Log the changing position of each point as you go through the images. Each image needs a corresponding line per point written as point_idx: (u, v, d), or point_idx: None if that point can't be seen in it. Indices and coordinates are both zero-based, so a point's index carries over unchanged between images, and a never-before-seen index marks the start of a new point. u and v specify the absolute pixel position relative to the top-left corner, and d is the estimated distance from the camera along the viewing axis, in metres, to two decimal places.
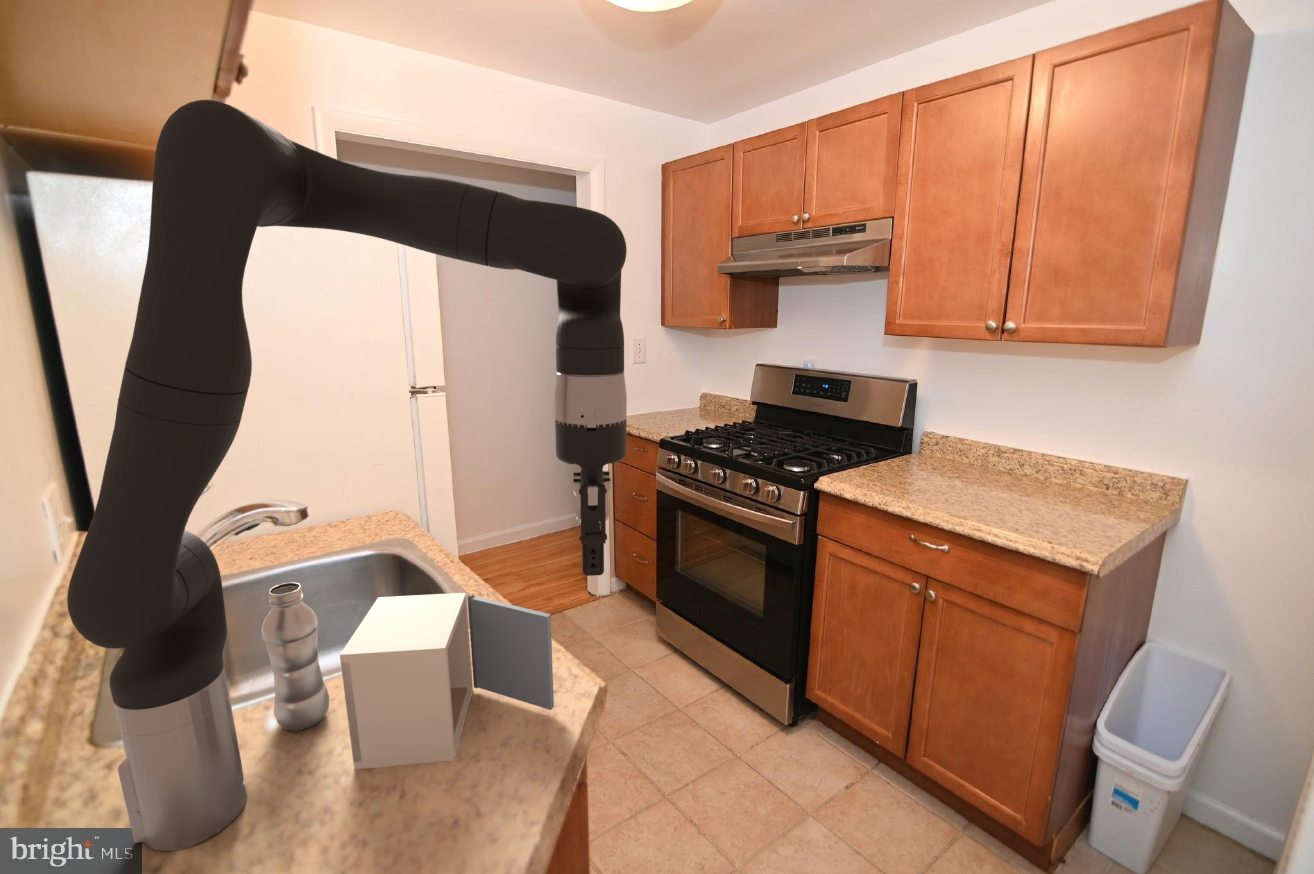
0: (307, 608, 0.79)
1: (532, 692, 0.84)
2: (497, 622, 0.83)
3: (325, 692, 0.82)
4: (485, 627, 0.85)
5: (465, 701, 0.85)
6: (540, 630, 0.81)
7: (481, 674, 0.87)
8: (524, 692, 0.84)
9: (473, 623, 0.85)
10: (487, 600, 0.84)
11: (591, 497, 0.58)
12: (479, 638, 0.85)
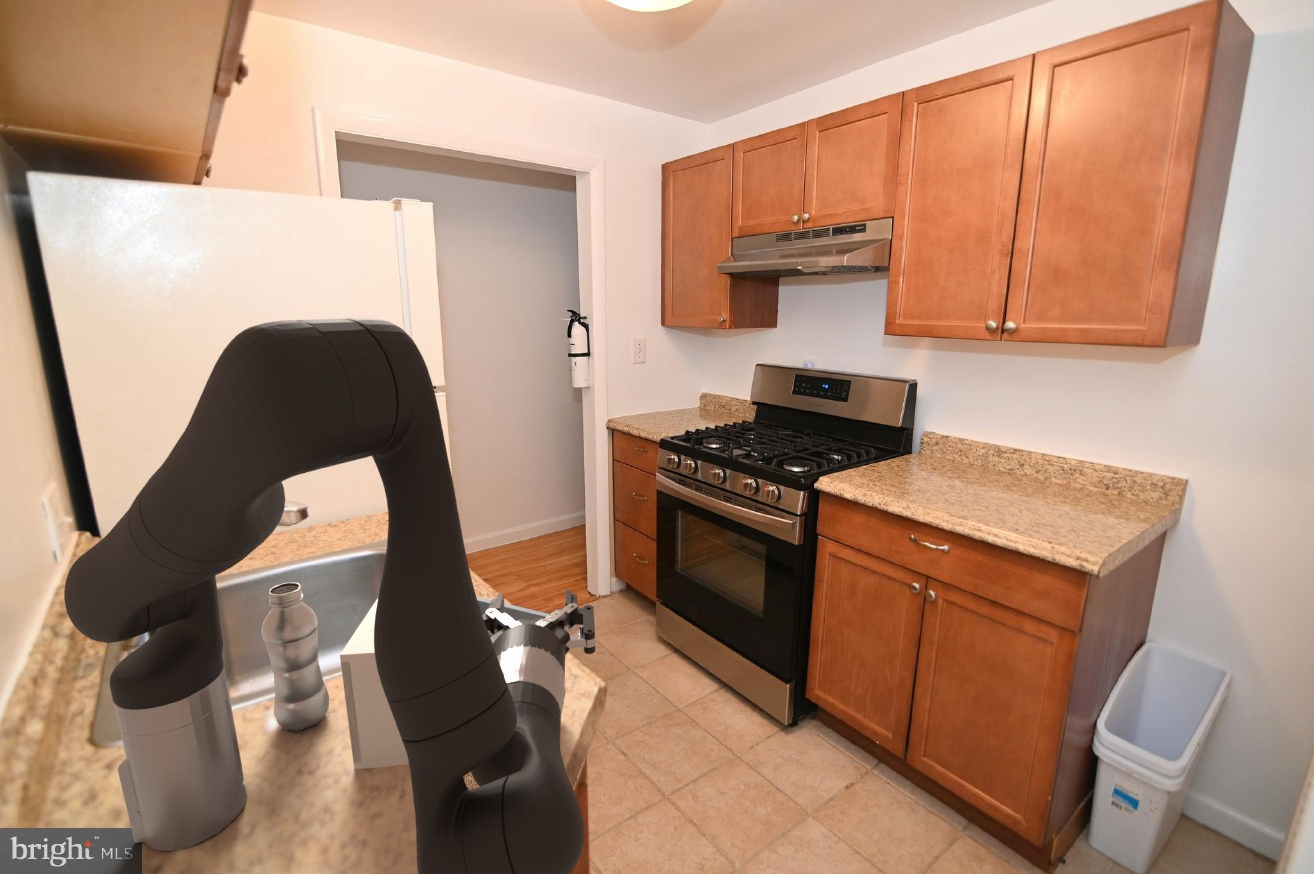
0: (307, 608, 0.79)
1: None
2: None
3: (325, 692, 0.82)
4: None
5: None
6: None
7: None
8: None
9: None
10: (487, 600, 0.84)
11: None
12: None
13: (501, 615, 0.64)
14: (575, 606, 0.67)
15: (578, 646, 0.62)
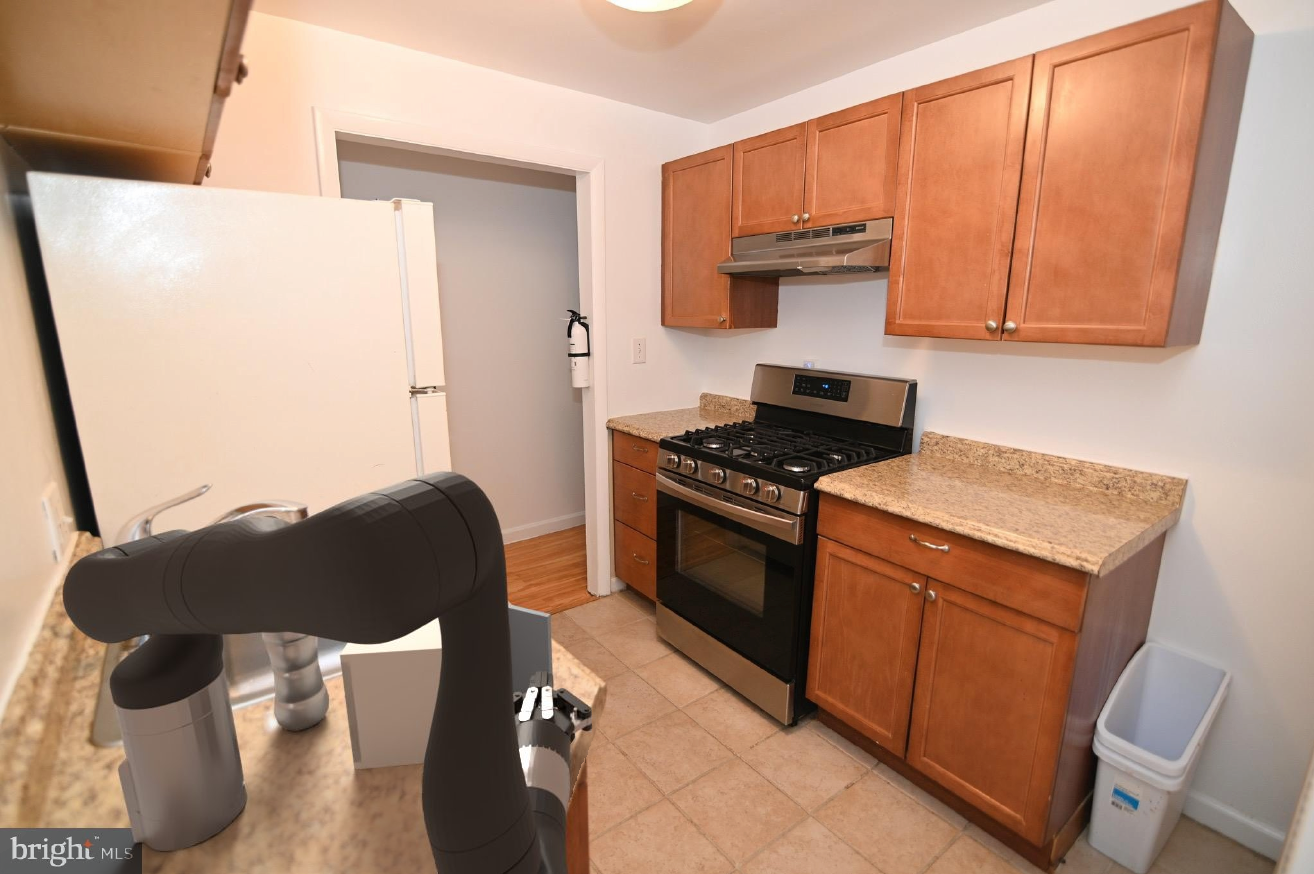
0: None
1: None
2: None
3: (325, 692, 0.82)
4: None
5: None
6: (540, 630, 0.81)
7: None
8: (524, 692, 0.84)
9: None
10: None
11: None
12: None
13: (529, 699, 0.69)
14: (549, 689, 0.72)
15: (581, 727, 0.68)
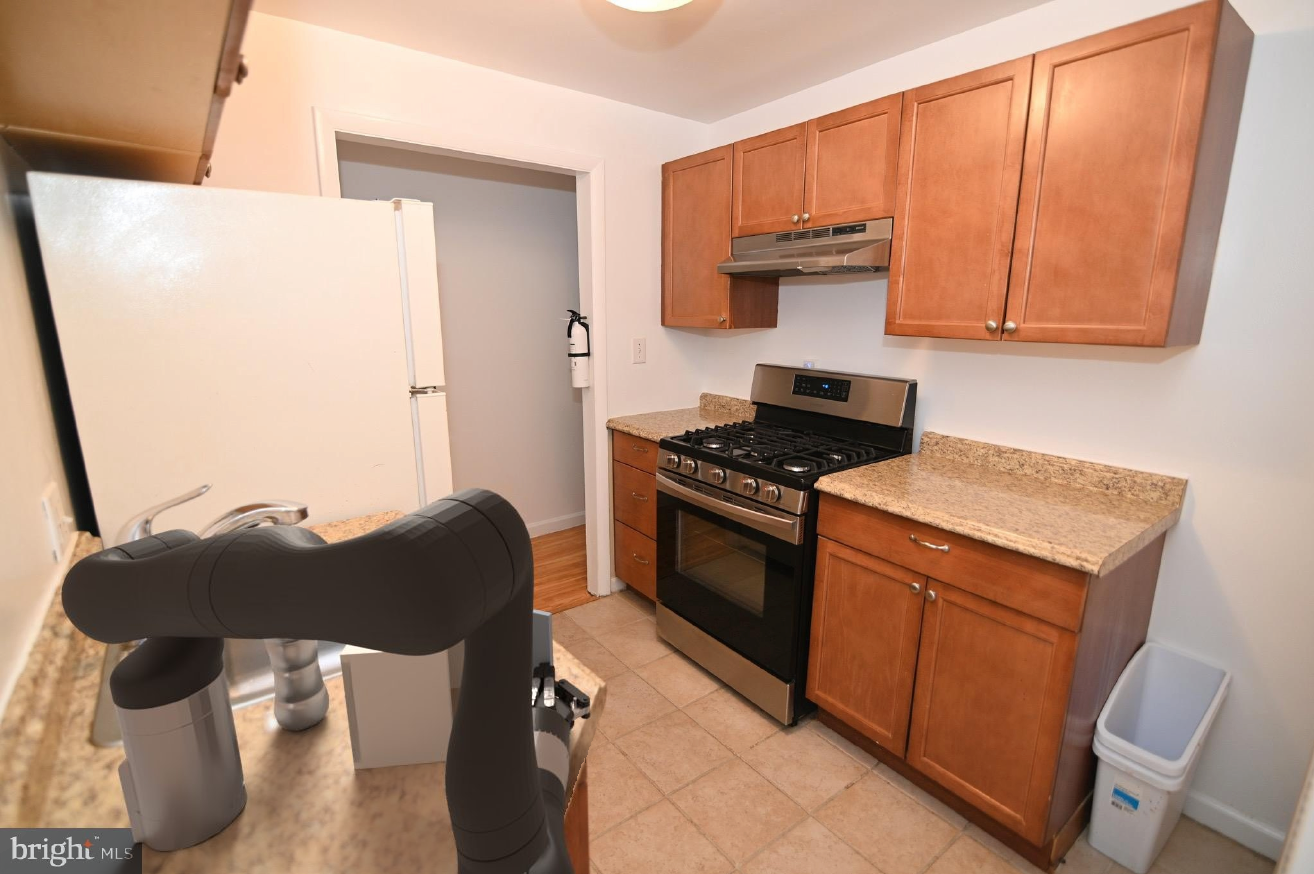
0: None
1: None
2: None
3: (325, 692, 0.82)
4: None
5: None
6: (541, 629, 0.81)
7: None
8: None
9: None
10: None
11: None
12: None
13: (532, 689, 0.75)
14: (551, 680, 0.77)
15: (580, 715, 0.73)
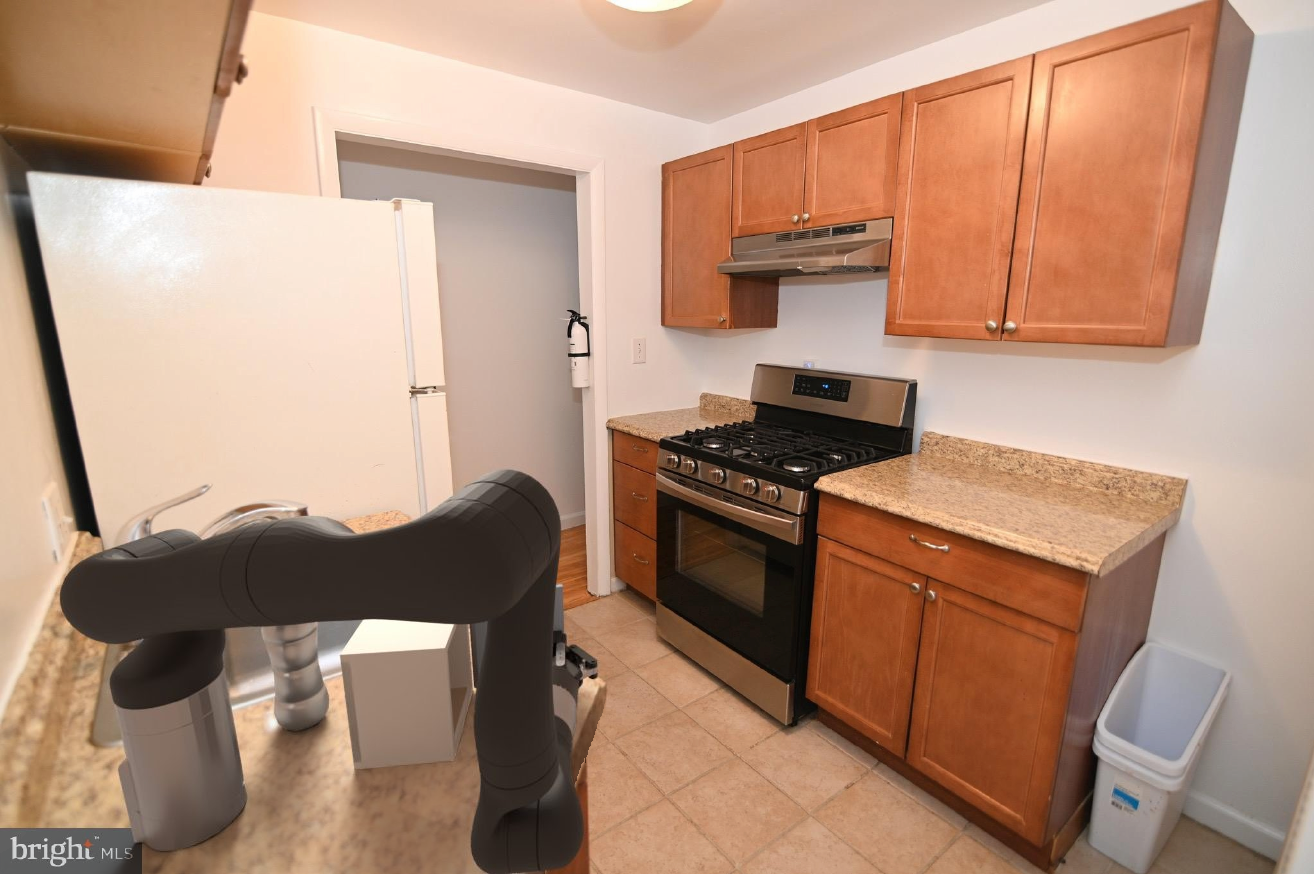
0: None
1: None
2: None
3: (325, 692, 0.82)
4: None
5: (465, 701, 0.85)
6: (555, 601, 0.88)
7: None
8: None
9: None
10: None
11: None
12: (483, 634, 0.86)
13: None
14: (563, 645, 0.85)
15: (588, 675, 0.81)
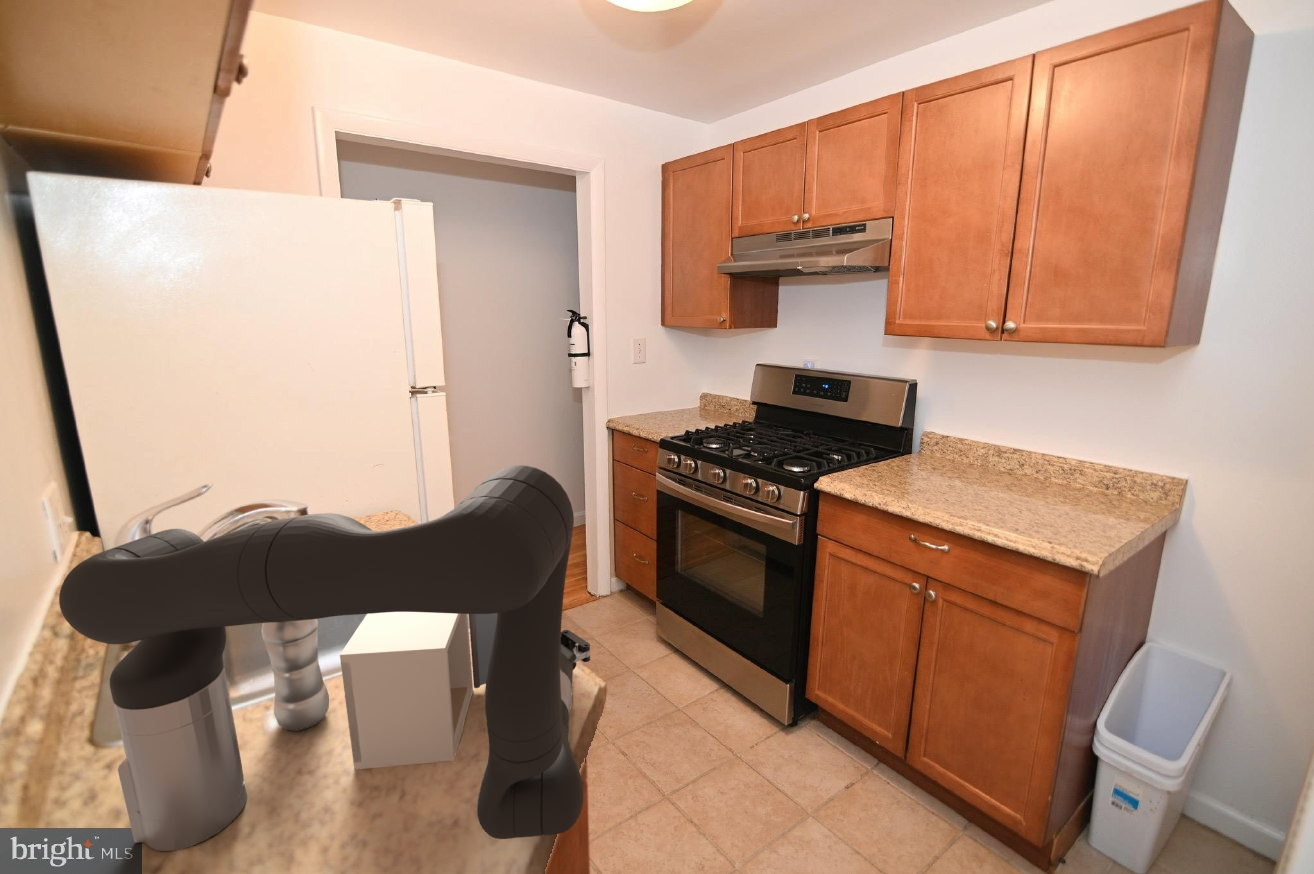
0: None
1: None
2: None
3: (325, 692, 0.82)
4: (490, 617, 0.87)
5: (465, 701, 0.85)
6: None
7: (485, 668, 0.88)
8: None
9: (476, 621, 0.86)
10: None
11: None
12: (483, 633, 0.87)
13: None
14: None
15: (581, 658, 0.85)
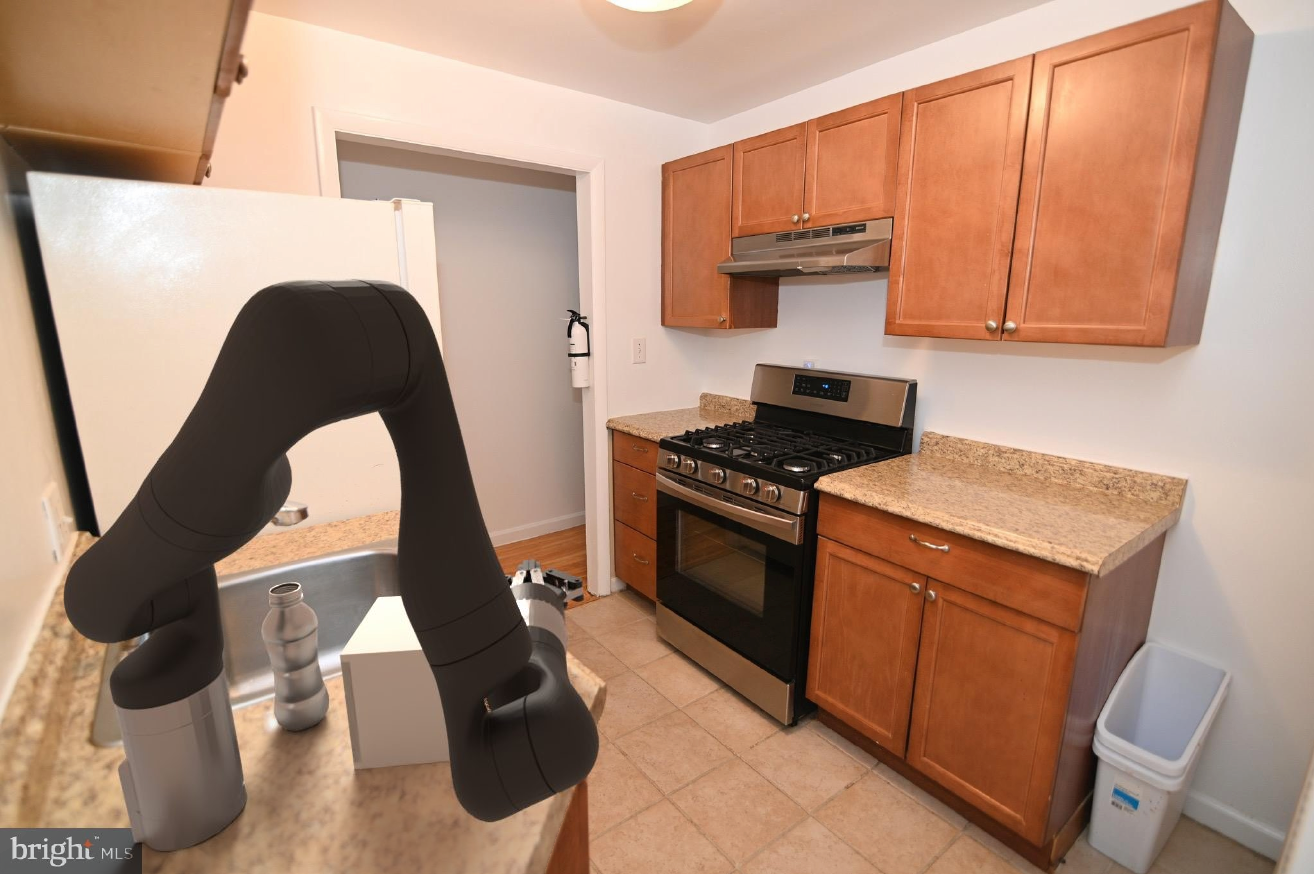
0: (307, 608, 0.79)
1: None
2: None
3: (325, 692, 0.82)
4: None
5: None
6: None
7: None
8: None
9: None
10: None
11: None
12: None
13: (518, 577, 0.69)
14: (538, 570, 0.72)
15: (573, 597, 0.68)
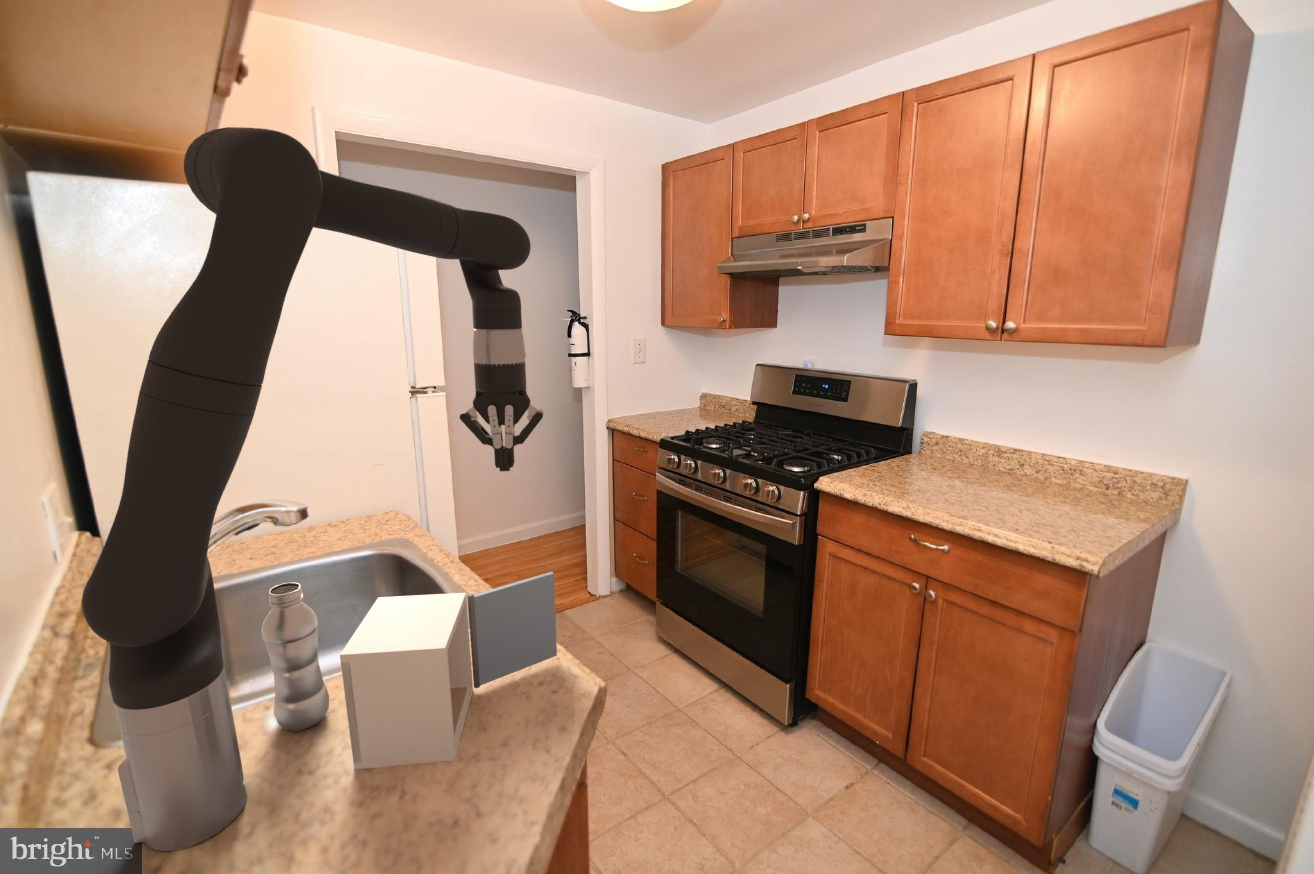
0: (307, 608, 0.79)
1: (539, 651, 0.94)
2: (504, 605, 0.88)
3: (325, 692, 0.82)
4: (490, 617, 0.87)
5: (465, 701, 0.85)
6: (547, 588, 0.92)
7: (485, 668, 0.88)
8: (532, 656, 0.93)
9: (476, 621, 0.86)
10: (489, 590, 0.87)
11: None
12: (483, 633, 0.87)
13: (508, 429, 0.90)
14: (494, 443, 0.91)
15: (469, 408, 0.91)
